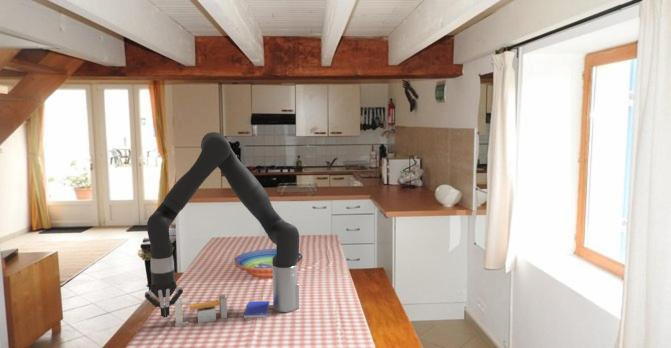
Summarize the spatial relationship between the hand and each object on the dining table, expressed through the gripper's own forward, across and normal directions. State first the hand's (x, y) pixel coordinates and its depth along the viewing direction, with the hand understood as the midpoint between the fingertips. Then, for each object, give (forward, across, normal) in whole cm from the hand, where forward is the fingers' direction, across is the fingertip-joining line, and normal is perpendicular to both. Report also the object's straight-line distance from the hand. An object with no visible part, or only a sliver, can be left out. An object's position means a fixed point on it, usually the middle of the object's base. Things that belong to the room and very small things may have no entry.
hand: (165, 316), depth 163 cm
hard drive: (+5, +32, +2) cm, 33 cm away
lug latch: (+3, +5, 0) cm, 6 cm away
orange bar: (-1, +14, 0) cm, 14 cm away
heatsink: (+4, +14, 0) cm, 14 cm away
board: (+4, +12, 0) cm, 13 cm away
